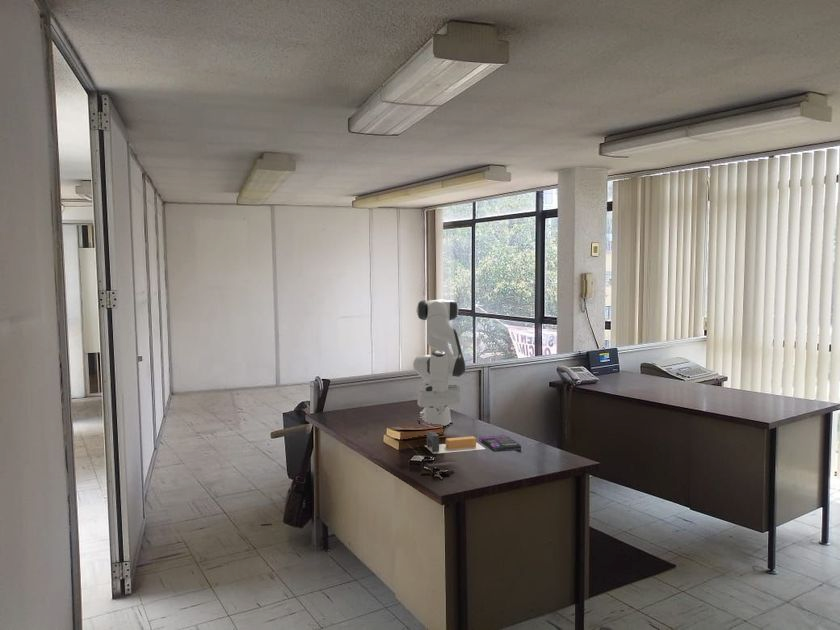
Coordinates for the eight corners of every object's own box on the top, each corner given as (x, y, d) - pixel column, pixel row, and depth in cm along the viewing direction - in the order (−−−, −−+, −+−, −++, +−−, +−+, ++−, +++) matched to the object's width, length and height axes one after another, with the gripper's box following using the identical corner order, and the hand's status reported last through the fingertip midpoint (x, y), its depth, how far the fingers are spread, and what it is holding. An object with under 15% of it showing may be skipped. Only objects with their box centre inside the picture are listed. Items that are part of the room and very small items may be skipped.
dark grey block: (426, 446, 292) (426, 431, 292) (432, 445, 293) (432, 430, 292) (432, 451, 283) (432, 436, 283) (439, 451, 284) (439, 435, 283)
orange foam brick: (445, 446, 292) (445, 438, 292) (472, 444, 296) (473, 436, 296) (448, 449, 288) (448, 440, 288) (476, 446, 292) (476, 438, 292)
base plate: (424, 447, 294) (424, 445, 294) (474, 443, 302) (474, 441, 302) (433, 455, 281) (433, 453, 281) (486, 451, 288) (486, 448, 288)
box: (479, 444, 304) (493, 454, 285) (479, 437, 303) (493, 447, 285) (505, 441, 307) (521, 451, 288) (505, 434, 307) (521, 444, 288)
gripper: (457, 383, 293) (457, 411, 294) (416, 385, 287) (416, 414, 288) (462, 385, 287) (462, 414, 288) (420, 388, 281) (420, 418, 282)
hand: (438, 415), depth 288 cm, fingers closed
